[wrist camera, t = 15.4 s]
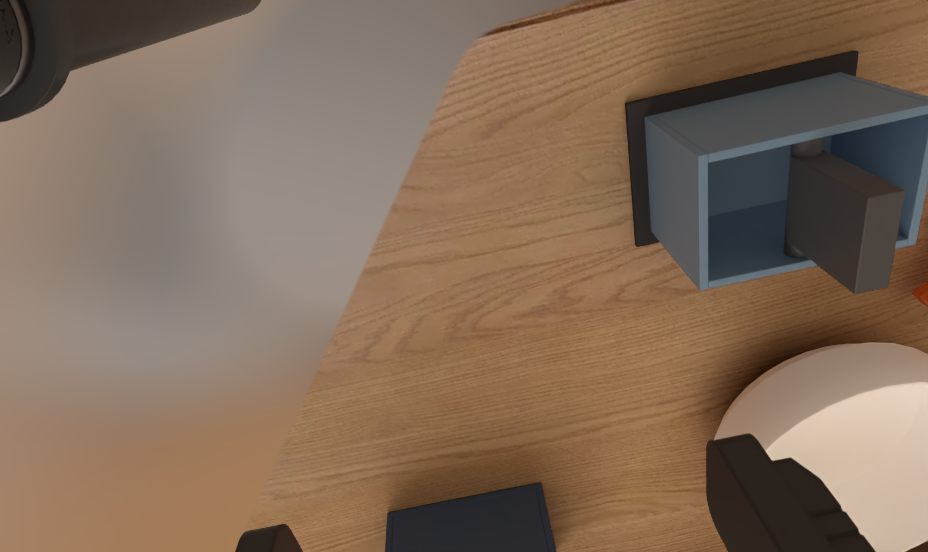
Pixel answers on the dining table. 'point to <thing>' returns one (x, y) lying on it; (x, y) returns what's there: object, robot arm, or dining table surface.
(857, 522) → the bowl
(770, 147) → the light blue bin
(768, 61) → the dining table surface
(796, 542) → the robot arm
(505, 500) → the dark blue bin
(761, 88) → the mat
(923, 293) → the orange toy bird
